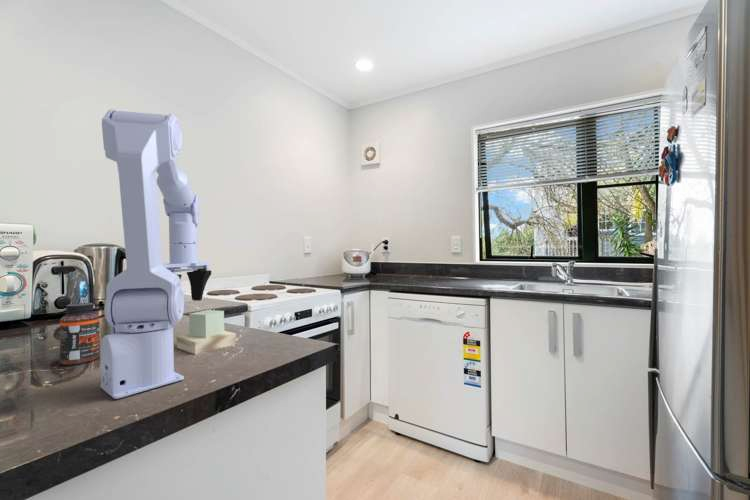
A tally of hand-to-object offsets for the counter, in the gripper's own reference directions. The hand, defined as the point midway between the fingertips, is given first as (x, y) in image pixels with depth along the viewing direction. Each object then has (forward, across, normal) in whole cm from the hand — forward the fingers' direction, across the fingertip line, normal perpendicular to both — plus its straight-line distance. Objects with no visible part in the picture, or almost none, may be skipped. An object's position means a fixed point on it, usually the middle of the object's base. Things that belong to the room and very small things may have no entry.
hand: (184, 302), depth 79 cm
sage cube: (+7, 0, -6) cm, 9 cm away
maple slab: (+10, -1, -6) cm, 12 cm away
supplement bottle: (+10, -15, +11) cm, 21 cm away
